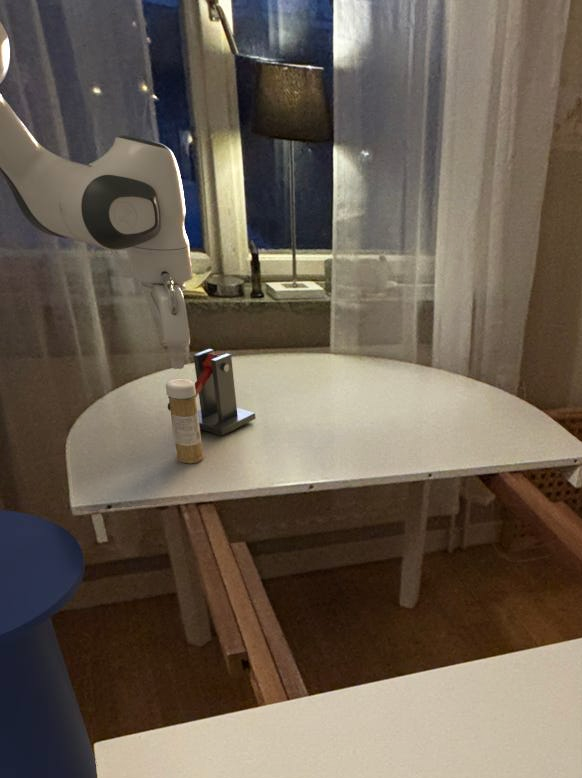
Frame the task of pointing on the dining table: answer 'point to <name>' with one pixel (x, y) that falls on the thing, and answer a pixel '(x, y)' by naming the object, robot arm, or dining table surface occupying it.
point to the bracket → (219, 396)
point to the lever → (203, 374)
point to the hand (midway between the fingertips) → (173, 357)
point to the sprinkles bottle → (185, 420)
